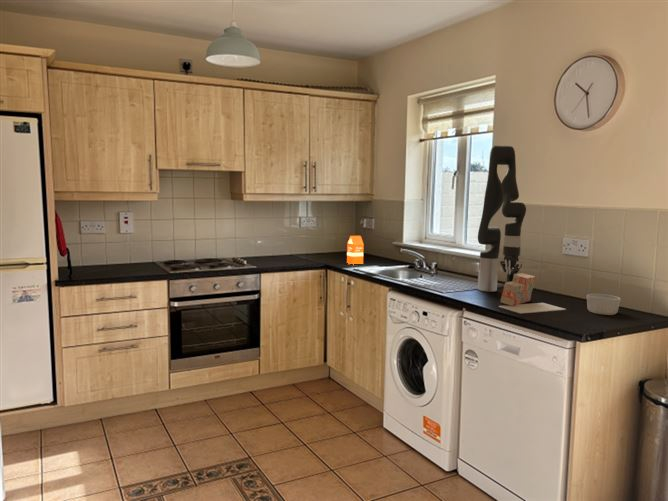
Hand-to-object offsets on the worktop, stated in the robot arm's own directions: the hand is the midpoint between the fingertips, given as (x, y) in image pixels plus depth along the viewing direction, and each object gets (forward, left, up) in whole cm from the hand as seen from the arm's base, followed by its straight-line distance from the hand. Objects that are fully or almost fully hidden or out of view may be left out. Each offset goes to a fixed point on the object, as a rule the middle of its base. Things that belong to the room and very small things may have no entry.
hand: (509, 282), depth 247 cm
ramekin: (+30, +25, -10) cm, 40 cm away
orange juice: (-140, -18, -9) cm, 141 cm away
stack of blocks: (+4, 0, -9) cm, 10 cm away
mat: (+15, 0, -9) cm, 18 cm away
